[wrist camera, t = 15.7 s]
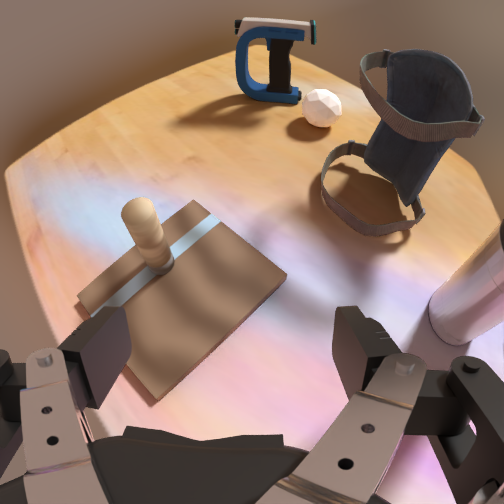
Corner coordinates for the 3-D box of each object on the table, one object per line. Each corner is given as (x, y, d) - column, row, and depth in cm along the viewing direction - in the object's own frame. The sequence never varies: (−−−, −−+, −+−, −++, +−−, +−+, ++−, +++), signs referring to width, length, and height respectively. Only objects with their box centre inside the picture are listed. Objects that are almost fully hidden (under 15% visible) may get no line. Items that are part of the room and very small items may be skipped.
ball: (319, 139, 60) (315, 127, 53) (297, 110, 61) (290, 95, 54) (349, 121, 58) (349, 106, 51) (326, 92, 59) (323, 75, 52)
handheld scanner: (309, 106, 62) (318, 25, 46) (235, 100, 63) (232, 19, 47) (308, 96, 65) (317, 19, 48) (239, 91, 66) (236, 14, 50)
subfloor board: (194, 205, 48) (193, 199, 47) (286, 279, 41) (287, 273, 40) (81, 299, 40) (76, 295, 38) (159, 400, 33) (155, 399, 32)
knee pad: (444, 211, 48) (510, 96, 26) (367, 262, 43) (442, 113, 21) (378, 146, 56) (412, 31, 35) (296, 177, 51) (313, 32, 30)
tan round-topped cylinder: (163, 246, 42) (141, 192, 33) (180, 262, 41) (159, 209, 32) (143, 263, 41) (115, 211, 32) (159, 280, 40) (132, 230, 30)
